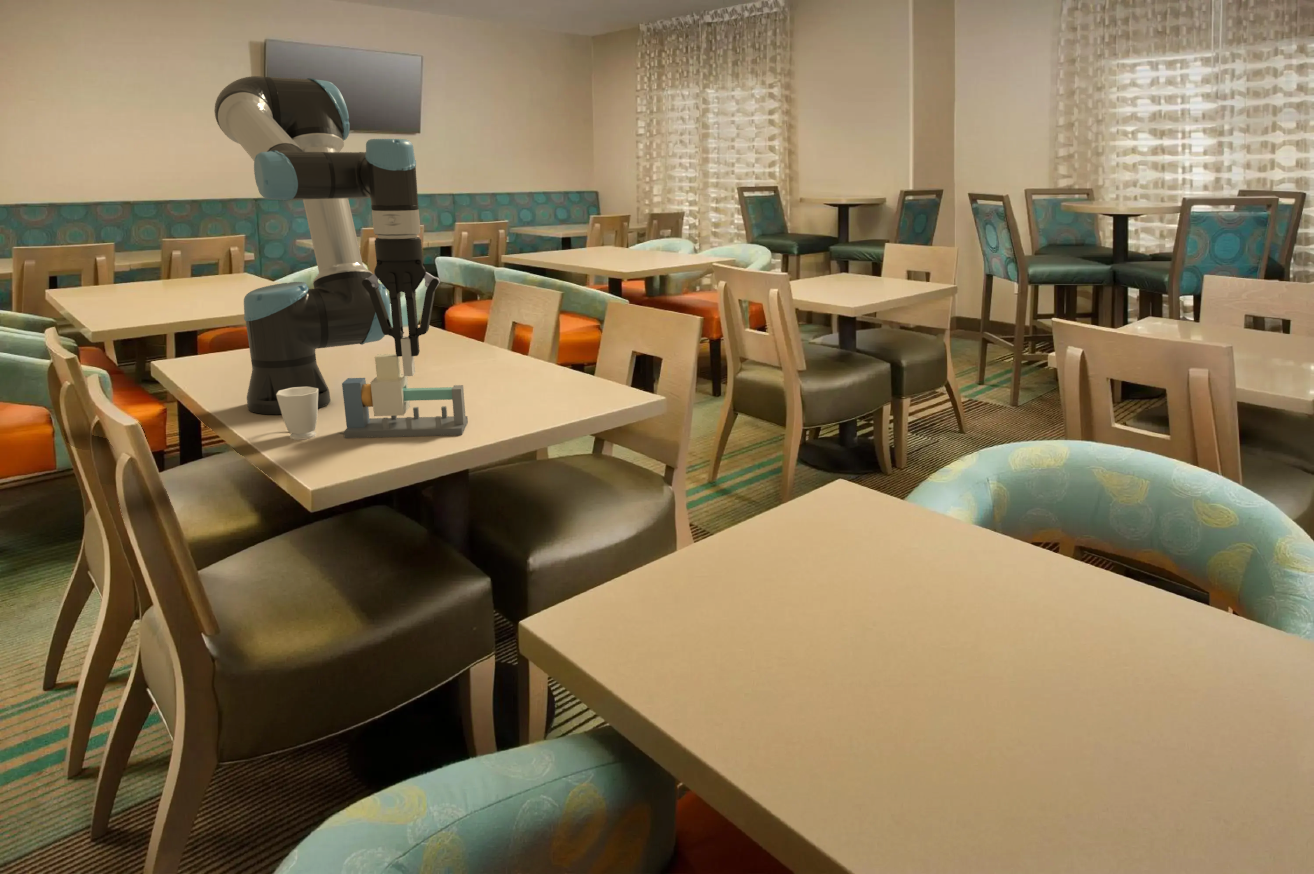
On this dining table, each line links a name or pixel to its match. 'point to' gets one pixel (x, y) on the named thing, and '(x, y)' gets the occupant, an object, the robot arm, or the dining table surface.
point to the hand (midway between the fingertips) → (409, 374)
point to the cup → (299, 411)
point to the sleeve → (389, 387)
